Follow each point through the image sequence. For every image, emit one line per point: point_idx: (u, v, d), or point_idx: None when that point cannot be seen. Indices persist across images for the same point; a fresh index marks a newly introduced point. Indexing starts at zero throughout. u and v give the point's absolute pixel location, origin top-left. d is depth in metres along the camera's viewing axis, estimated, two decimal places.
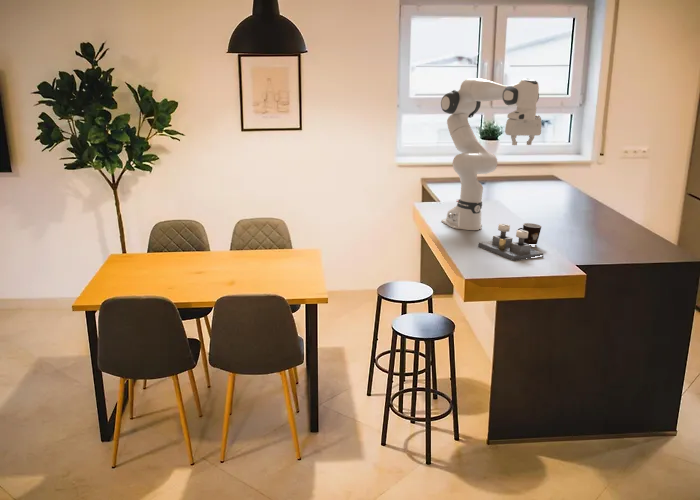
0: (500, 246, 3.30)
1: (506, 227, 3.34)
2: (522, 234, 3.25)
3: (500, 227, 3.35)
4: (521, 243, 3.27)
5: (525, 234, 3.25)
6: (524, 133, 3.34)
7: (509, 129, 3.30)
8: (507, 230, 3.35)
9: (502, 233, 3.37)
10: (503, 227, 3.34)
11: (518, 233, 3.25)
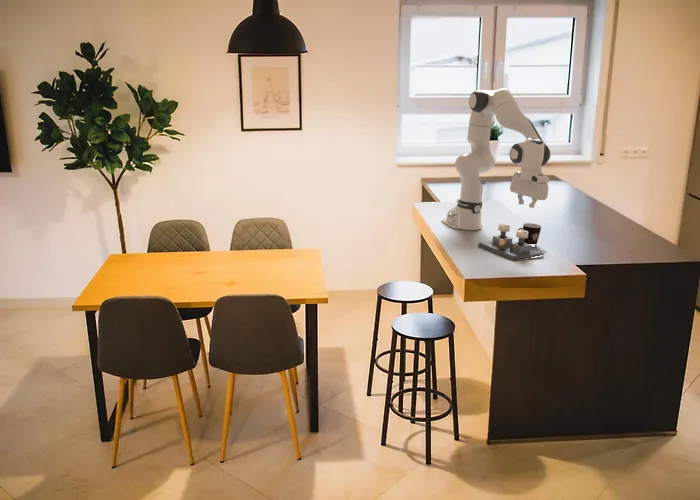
0: (500, 246, 3.30)
1: (506, 227, 3.34)
2: (522, 234, 3.25)
3: (500, 227, 3.35)
4: (521, 243, 3.27)
5: (525, 234, 3.25)
6: None
7: (545, 194, 3.14)
8: (507, 230, 3.35)
9: (502, 233, 3.37)
10: (503, 227, 3.34)
11: (518, 233, 3.25)
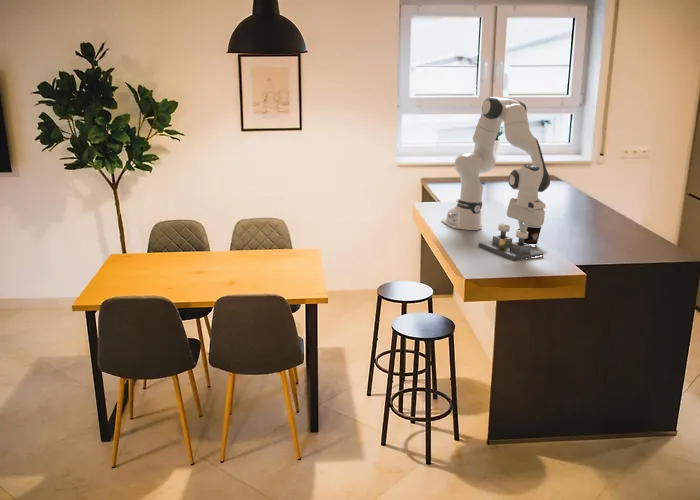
0: (500, 246, 3.30)
1: (506, 227, 3.34)
2: (522, 234, 3.25)
3: (500, 227, 3.35)
4: (521, 243, 3.27)
5: (525, 234, 3.25)
6: None
7: (542, 220, 3.17)
8: (507, 230, 3.35)
9: (502, 233, 3.37)
10: (503, 227, 3.34)
11: (518, 233, 3.25)
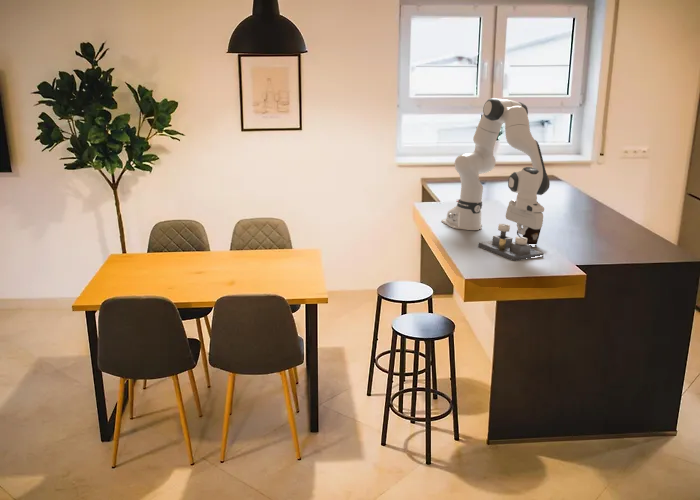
0: (500, 246, 3.30)
1: (506, 227, 3.34)
2: (521, 241, 3.25)
3: (500, 227, 3.35)
4: None
5: (524, 241, 3.25)
6: None
7: (540, 224, 3.17)
8: (507, 230, 3.35)
9: (502, 233, 3.37)
10: (503, 227, 3.34)
11: (517, 240, 3.26)
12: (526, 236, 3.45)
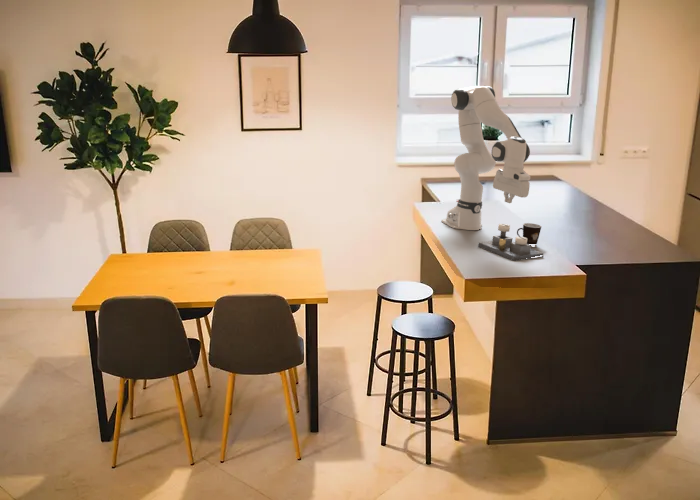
0: (500, 246, 3.30)
1: (506, 227, 3.34)
2: (521, 241, 3.25)
3: (500, 227, 3.35)
4: None
5: (524, 241, 3.25)
6: None
7: (526, 192, 3.24)
8: (507, 230, 3.35)
9: (502, 233, 3.37)
10: (503, 227, 3.34)
11: (517, 240, 3.26)
12: (526, 236, 3.45)
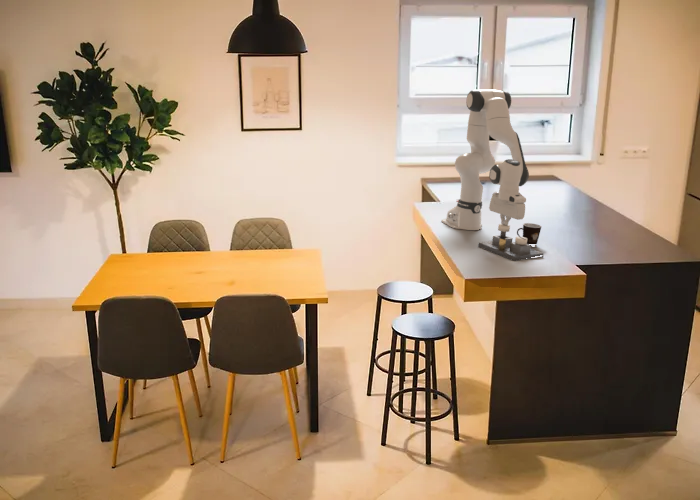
0: (500, 246, 3.30)
1: (506, 227, 3.34)
2: (521, 241, 3.25)
3: (500, 227, 3.35)
4: None
5: (524, 241, 3.25)
6: None
7: (522, 214, 3.27)
8: (507, 230, 3.35)
9: (502, 233, 3.37)
10: (503, 227, 3.34)
11: (517, 240, 3.26)
12: (526, 236, 3.45)
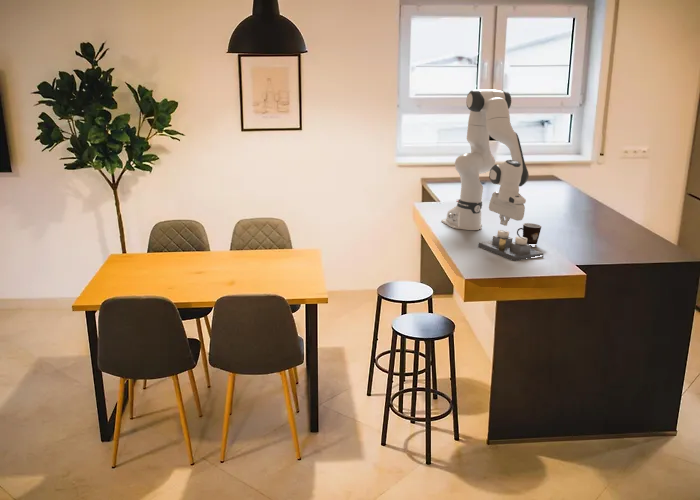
0: (500, 246, 3.30)
1: (505, 234, 3.35)
2: (521, 241, 3.25)
3: (499, 233, 3.36)
4: None
5: (524, 241, 3.25)
6: None
7: (522, 215, 3.27)
8: (506, 236, 3.36)
9: None
10: (502, 234, 3.35)
11: (517, 240, 3.26)
12: (526, 236, 3.45)
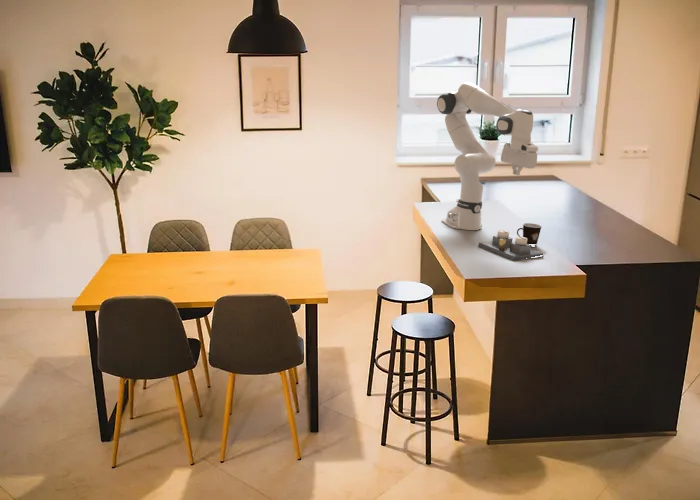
0: (500, 246, 3.30)
1: (505, 234, 3.35)
2: (521, 241, 3.25)
3: (499, 233, 3.36)
4: None
5: (524, 241, 3.25)
6: None
7: (534, 163, 3.27)
8: (506, 236, 3.36)
9: None
10: (502, 234, 3.35)
11: (517, 240, 3.26)
12: (526, 236, 3.45)
